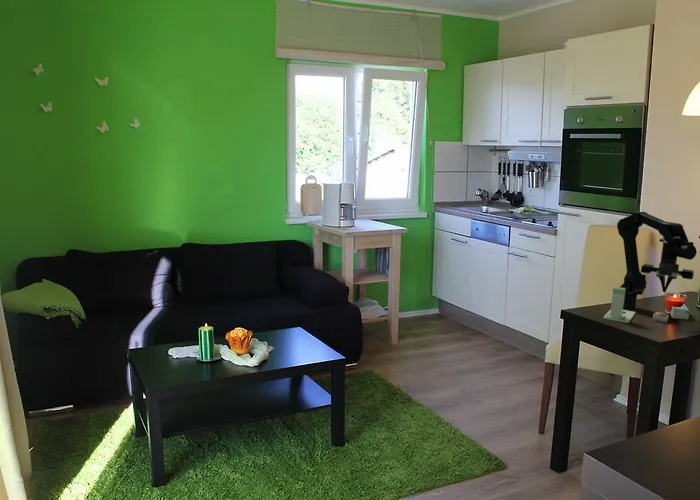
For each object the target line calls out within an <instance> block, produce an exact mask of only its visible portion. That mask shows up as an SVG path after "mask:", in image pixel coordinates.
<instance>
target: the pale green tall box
mask: <svg viewBox="0 0 700 500" xmlns="http://www.w3.org/2000/svg"><path fill="white" fill-rule="evenodd" d="M625 289H626V288H621V287H620V286H614V287H613V288H612V296H611V304H610V309H611V311H610V310H609V311H610V317H614V318H619V319H620V318H621V317H622V312H623V310H624V308H623V304H624V297H625Z"/></svg>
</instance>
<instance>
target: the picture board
mask: <svg viewBox="0 0 700 500" xmlns="http://www.w3.org/2000/svg"><path fill="white" fill-rule="evenodd" d="M610 311H611V308H610V309H609V310H608V312H607V313H606V314H605V315H604V316H603V317H602V318H603V320H609V321H615V322H618V323H619V322H620V323H625V324H629V323H630V321H631V320H632V319H633V318H634V316H635V315H636V311H634V310H633V311H631V310H628V309H623V312H622V317H621V318H620V319H619V318H614V317H610Z"/></svg>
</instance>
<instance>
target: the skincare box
mask: <svg viewBox="0 0 700 500" xmlns="http://www.w3.org/2000/svg"><path fill="white" fill-rule="evenodd" d="M670 316H671V318H673V319H679V320H689V316H690V310H689V308H688V307H687V305H686V304H685V303H684V304H683V306H681V307H673V306H672V310H671V315H670Z"/></svg>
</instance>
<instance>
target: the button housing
mask: <svg viewBox="0 0 700 500" xmlns="http://www.w3.org/2000/svg"><path fill="white" fill-rule="evenodd" d="M652 321H653V322H658V323H664V324H666V323H668V321H669V314H666V317H661V316H656V312H654V313H653V315H652Z"/></svg>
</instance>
